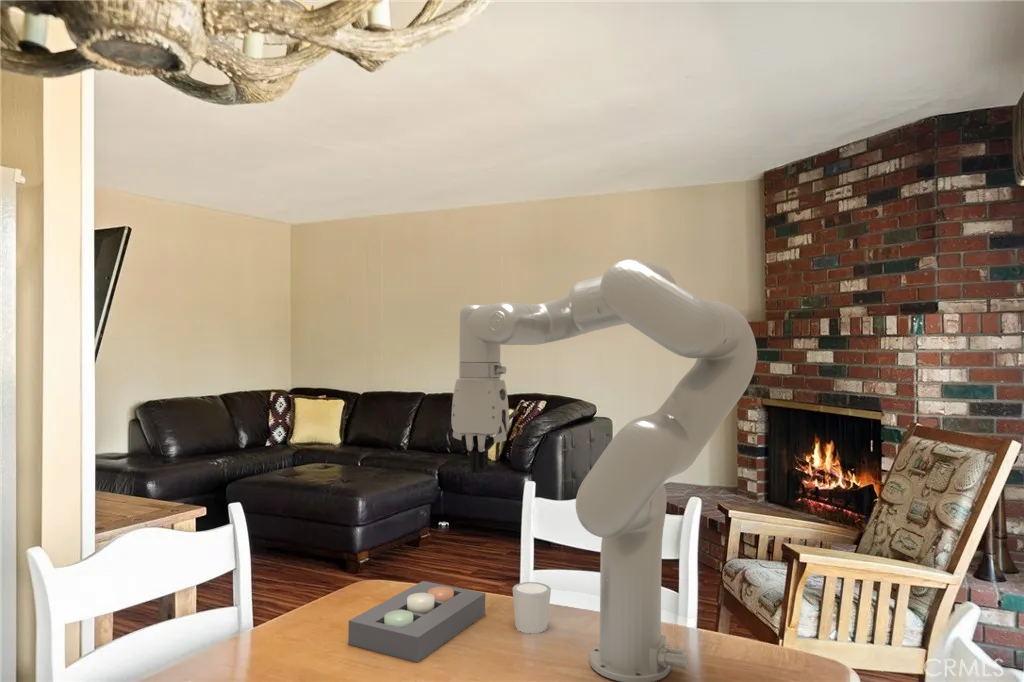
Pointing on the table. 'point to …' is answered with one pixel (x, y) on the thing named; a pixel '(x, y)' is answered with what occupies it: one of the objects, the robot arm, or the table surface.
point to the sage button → (398, 618)
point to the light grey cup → (531, 606)
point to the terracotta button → (442, 593)
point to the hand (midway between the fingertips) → (478, 472)
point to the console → (416, 623)
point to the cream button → (420, 603)
